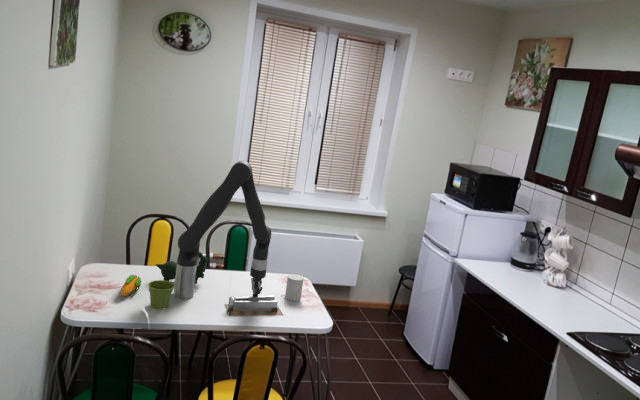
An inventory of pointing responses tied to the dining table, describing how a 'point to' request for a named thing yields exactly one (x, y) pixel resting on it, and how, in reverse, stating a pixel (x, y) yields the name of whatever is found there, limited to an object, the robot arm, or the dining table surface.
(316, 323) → the dining table surface
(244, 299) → the tongs swing arm
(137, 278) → the corn
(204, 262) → the toy figurine
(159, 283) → the plant pot
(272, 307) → the arm
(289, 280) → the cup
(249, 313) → the walnut board
